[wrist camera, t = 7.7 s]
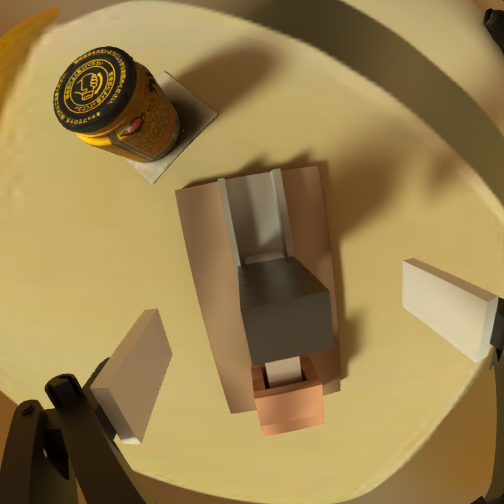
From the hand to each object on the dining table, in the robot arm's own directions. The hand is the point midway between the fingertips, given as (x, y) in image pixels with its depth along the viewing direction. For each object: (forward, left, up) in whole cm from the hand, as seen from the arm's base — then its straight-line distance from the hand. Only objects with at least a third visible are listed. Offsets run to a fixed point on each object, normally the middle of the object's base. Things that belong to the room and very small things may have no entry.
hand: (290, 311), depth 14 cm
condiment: (+7, -14, -12) cm, 20 cm away
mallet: (0, +6, -9) cm, 11 cm away
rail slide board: (0, +4, -12) cm, 12 cm away
